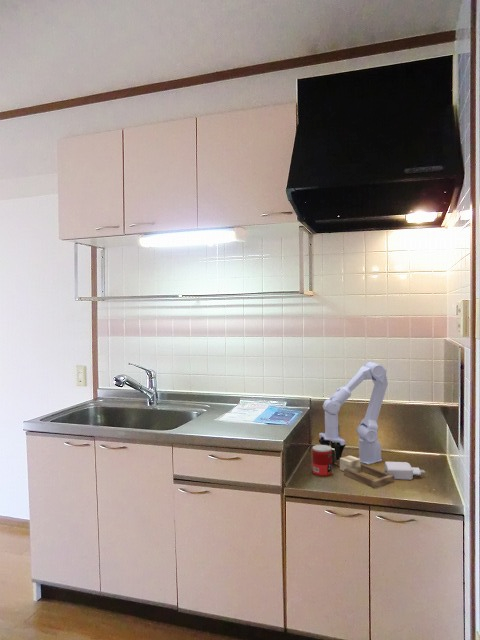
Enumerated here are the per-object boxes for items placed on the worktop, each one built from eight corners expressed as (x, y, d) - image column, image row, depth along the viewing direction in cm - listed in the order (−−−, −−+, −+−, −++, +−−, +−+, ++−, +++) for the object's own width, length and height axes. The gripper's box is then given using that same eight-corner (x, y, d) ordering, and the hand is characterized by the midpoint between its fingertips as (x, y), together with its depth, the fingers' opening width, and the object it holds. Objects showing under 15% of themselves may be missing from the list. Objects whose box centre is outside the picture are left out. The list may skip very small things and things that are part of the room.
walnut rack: (362, 469, 199) (362, 463, 199) (394, 481, 185) (394, 475, 185) (344, 475, 193) (344, 469, 193) (374, 488, 179) (374, 481, 179)
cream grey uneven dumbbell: (335, 460, 210) (335, 448, 209) (360, 471, 197) (360, 457, 196) (325, 463, 207) (325, 451, 206) (350, 474, 194) (349, 460, 193)
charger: (427, 481, 185) (387, 480, 187) (422, 473, 194) (384, 471, 196) (427, 469, 185) (387, 468, 187) (422, 461, 194) (384, 460, 196)
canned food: (332, 477, 191) (331, 450, 191) (312, 476, 193) (311, 450, 192) (332, 470, 199) (331, 445, 198) (313, 469, 200) (312, 444, 200)
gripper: (313, 424, 211) (314, 454, 211) (336, 432, 198) (337, 463, 199) (325, 422, 214) (326, 451, 215) (348, 429, 202) (349, 460, 202)
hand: (332, 457), depth 207 cm, fingers open, 7 cm apart
